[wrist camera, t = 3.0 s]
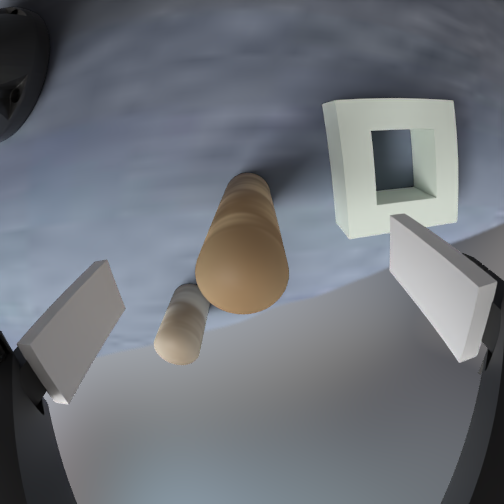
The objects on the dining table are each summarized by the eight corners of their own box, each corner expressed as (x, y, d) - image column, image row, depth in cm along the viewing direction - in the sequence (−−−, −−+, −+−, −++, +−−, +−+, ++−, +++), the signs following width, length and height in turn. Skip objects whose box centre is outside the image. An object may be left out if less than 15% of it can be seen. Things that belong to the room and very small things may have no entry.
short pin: (179, 317, 29) (162, 366, 23) (168, 286, 28) (147, 332, 22) (213, 313, 29) (204, 363, 23) (205, 281, 28) (192, 328, 21)
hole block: (336, 222, 26) (349, 239, 22) (321, 103, 22) (334, 100, 18) (433, 208, 25) (456, 222, 21) (428, 101, 21) (453, 100, 17)
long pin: (230, 219, 25) (207, 319, 13) (221, 177, 24) (185, 239, 11) (273, 212, 25) (293, 307, 12) (266, 169, 24) (282, 223, 11)
